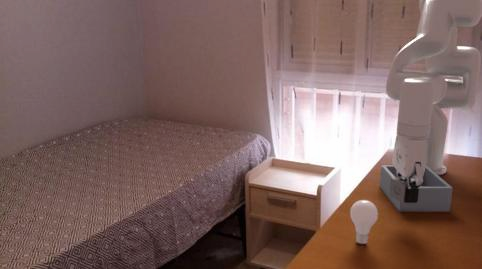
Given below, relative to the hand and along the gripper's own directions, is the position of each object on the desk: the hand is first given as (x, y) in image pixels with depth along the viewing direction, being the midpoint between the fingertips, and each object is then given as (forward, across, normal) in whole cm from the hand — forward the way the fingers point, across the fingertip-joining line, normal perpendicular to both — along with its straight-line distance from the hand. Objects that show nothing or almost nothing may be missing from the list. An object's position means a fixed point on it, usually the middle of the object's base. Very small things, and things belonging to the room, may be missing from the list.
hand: (405, 195), depth 116 cm
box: (+9, -16, +8) cm, 20 cm away
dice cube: (+1, 0, 0) cm, 1 cm away
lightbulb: (+8, +10, -14) cm, 18 cm away
